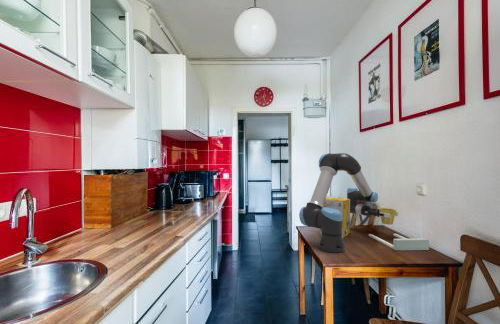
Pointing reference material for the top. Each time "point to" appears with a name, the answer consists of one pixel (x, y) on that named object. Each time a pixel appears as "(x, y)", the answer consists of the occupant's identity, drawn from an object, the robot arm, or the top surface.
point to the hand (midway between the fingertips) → (393, 214)
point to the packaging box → (343, 207)
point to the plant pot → (385, 219)
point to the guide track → (406, 243)
